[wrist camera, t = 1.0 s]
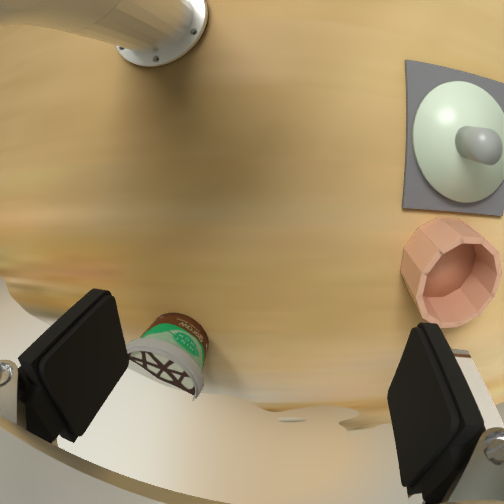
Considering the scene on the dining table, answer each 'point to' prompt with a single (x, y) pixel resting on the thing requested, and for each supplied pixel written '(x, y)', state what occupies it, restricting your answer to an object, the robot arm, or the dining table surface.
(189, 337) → the food container
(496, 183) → the lid
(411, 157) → the mat
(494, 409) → the grey two-tier tower
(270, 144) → the dining table surface
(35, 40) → the dining table surface
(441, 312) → the bowl
